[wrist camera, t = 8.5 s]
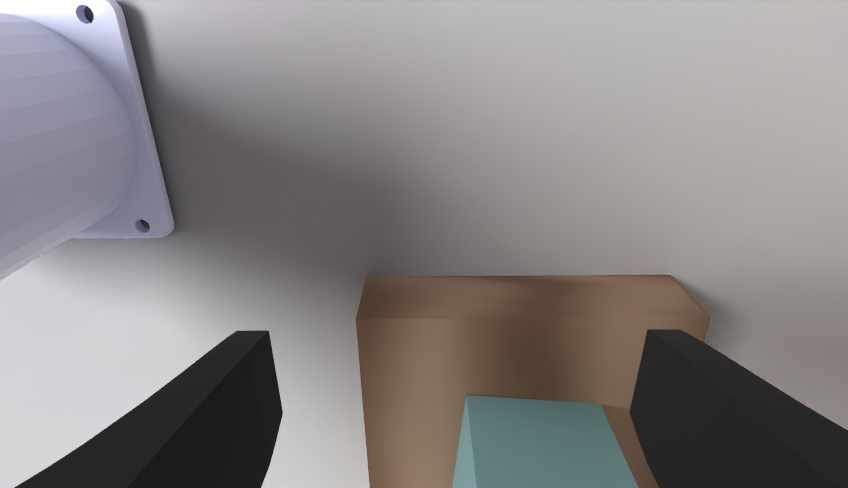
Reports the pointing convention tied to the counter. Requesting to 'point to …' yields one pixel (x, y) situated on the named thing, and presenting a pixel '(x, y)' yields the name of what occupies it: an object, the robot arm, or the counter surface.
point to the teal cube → (537, 446)
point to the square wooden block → (502, 357)
